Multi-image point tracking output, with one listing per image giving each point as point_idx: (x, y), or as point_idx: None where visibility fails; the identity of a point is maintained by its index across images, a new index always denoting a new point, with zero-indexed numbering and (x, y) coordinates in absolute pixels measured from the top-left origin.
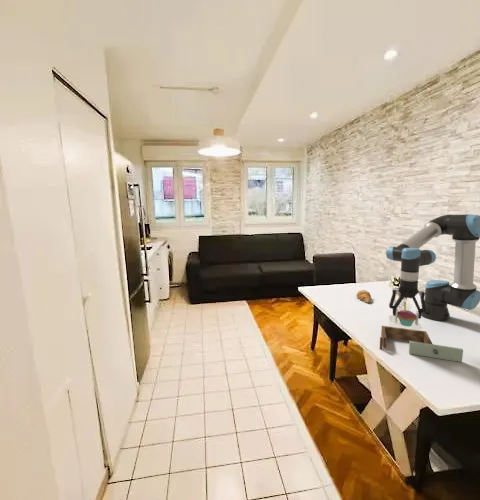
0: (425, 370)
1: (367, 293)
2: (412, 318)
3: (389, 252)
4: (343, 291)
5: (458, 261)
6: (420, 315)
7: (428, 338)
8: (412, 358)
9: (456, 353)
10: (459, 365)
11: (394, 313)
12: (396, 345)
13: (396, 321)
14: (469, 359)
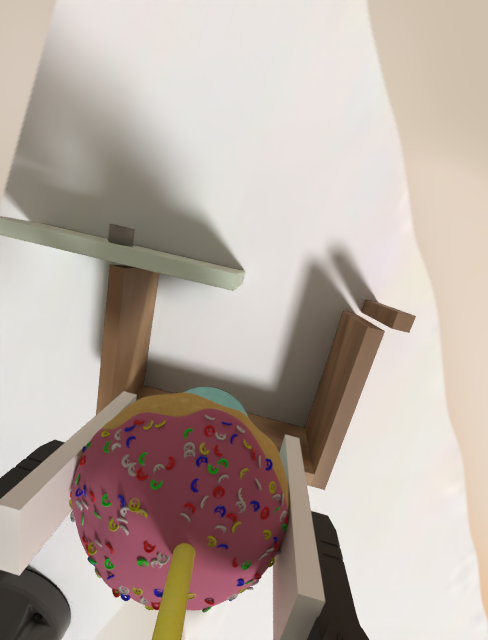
0: (227, 112)
1: None
2: (139, 414)
3: None
4: None
5: None
6: (16, 471)
7: (109, 340)
8: (245, 228)
9: (26, 222)
10: (60, 196)
11: (322, 544)
12: (274, 350)
13: (290, 443)
14: (6, 258)
